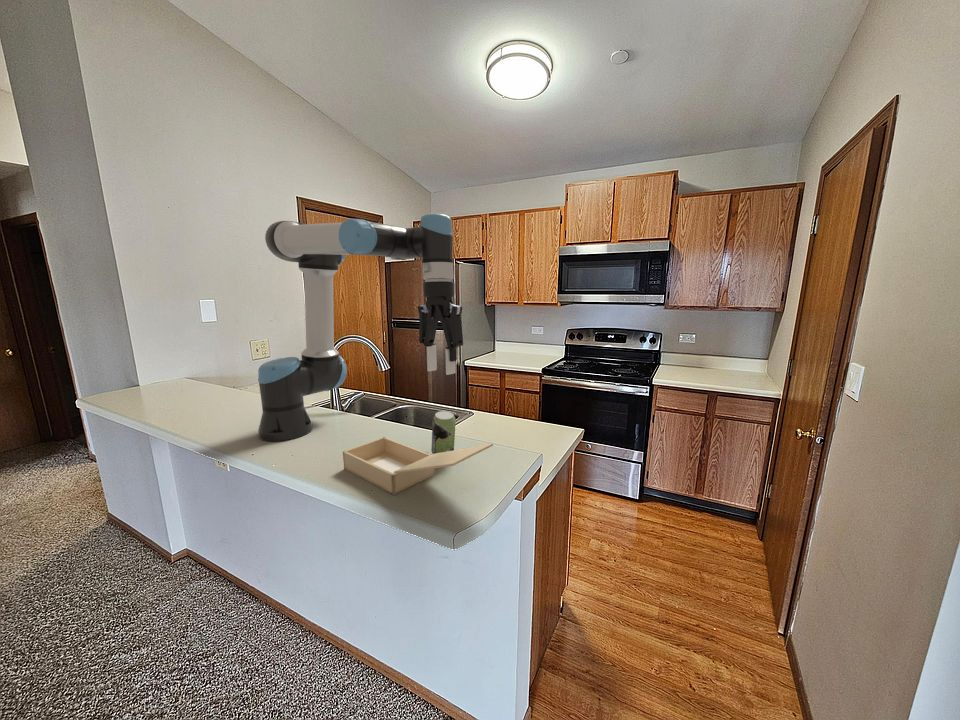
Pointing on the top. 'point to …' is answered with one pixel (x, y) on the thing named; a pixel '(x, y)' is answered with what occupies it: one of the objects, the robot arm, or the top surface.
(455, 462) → the lid
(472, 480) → the top surface
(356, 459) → the box
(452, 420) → the beverage can
